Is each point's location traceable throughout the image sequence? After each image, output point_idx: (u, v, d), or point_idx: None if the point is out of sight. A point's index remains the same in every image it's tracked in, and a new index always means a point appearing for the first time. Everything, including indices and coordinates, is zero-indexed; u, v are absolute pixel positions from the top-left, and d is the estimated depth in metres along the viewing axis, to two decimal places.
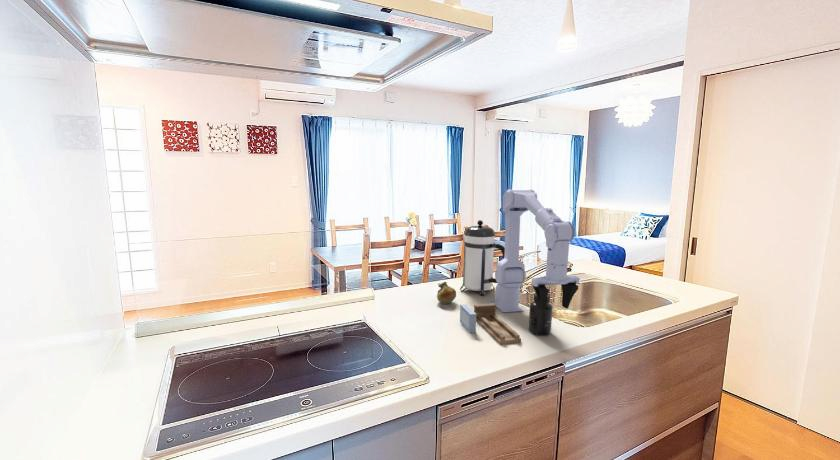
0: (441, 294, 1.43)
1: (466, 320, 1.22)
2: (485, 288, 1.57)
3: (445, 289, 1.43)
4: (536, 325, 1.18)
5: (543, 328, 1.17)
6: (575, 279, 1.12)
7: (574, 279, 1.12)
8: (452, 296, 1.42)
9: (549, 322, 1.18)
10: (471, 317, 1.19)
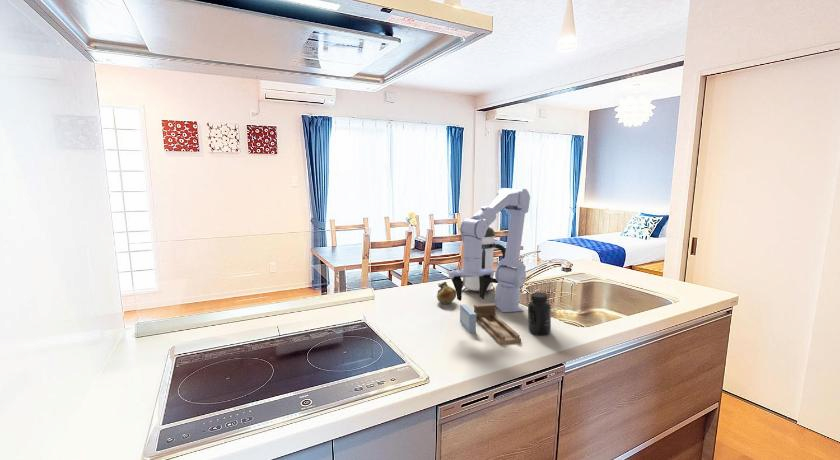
0: (441, 294, 1.43)
1: (466, 320, 1.22)
2: None
3: (445, 289, 1.43)
4: (536, 325, 1.18)
5: (543, 328, 1.17)
6: (489, 272, 1.21)
7: (488, 272, 1.21)
8: (452, 296, 1.42)
9: (548, 321, 1.18)
10: (471, 317, 1.19)
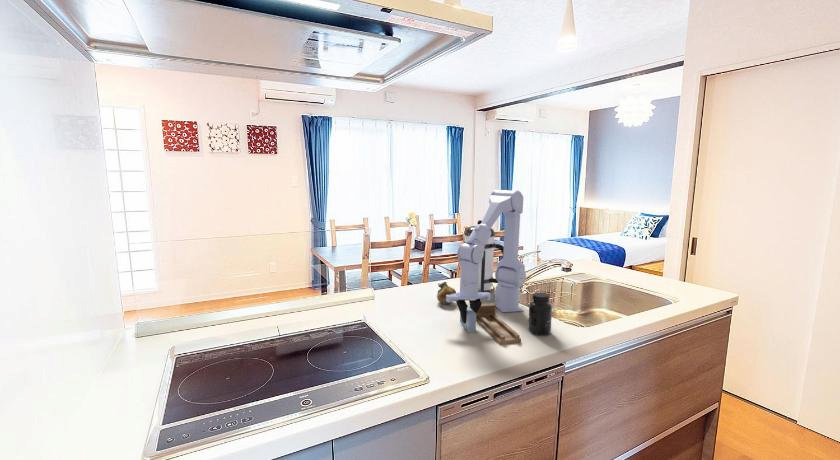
0: (441, 294, 1.43)
1: (466, 320, 1.22)
2: (485, 288, 1.57)
3: (445, 289, 1.43)
4: (537, 325, 1.18)
5: (544, 328, 1.17)
6: (486, 295, 1.23)
7: (485, 295, 1.23)
8: None
9: (549, 321, 1.18)
10: (471, 317, 1.19)
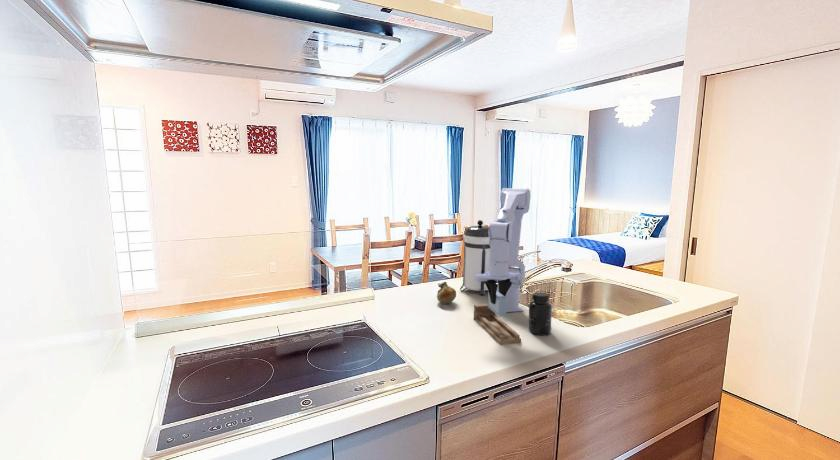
0: (441, 294, 1.43)
1: (496, 304, 1.19)
2: (485, 288, 1.57)
3: (445, 289, 1.43)
4: (538, 324, 1.18)
5: (544, 327, 1.18)
6: (516, 275, 1.20)
7: (515, 275, 1.20)
8: (452, 296, 1.42)
9: (549, 321, 1.18)
10: (501, 301, 1.16)
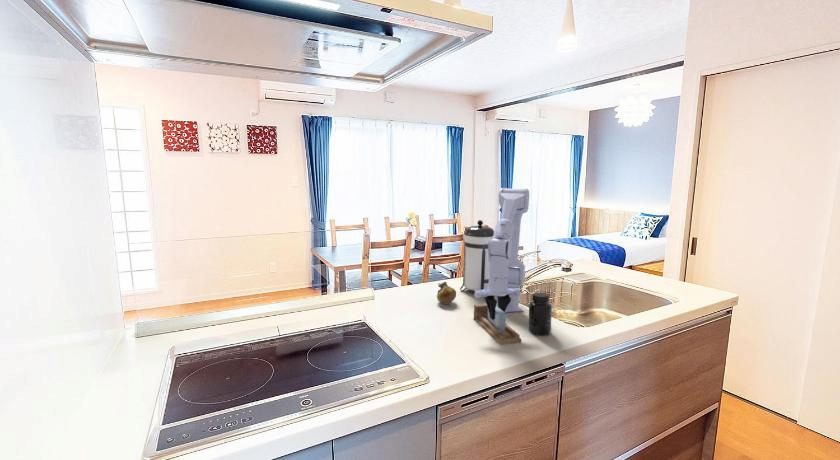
0: (441, 294, 1.43)
1: (495, 319, 1.20)
2: (485, 288, 1.57)
3: (445, 289, 1.43)
4: (538, 325, 1.18)
5: (545, 328, 1.17)
6: (515, 291, 1.21)
7: (514, 291, 1.20)
8: (452, 296, 1.42)
9: (550, 321, 1.18)
10: (501, 316, 1.17)
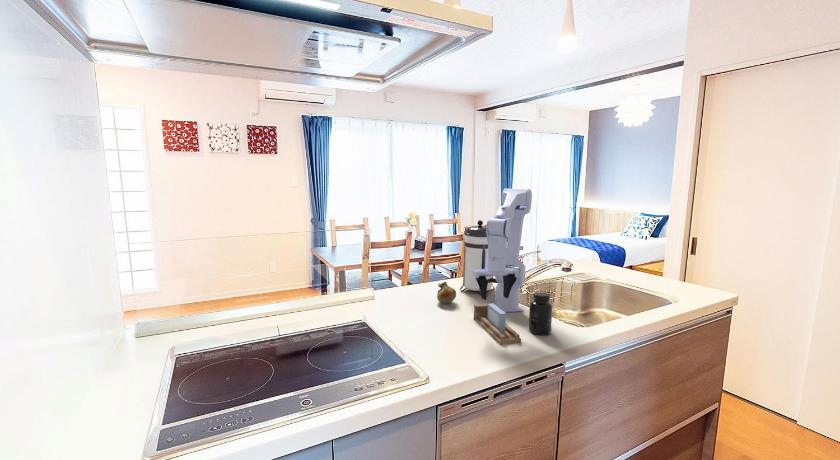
0: (441, 294, 1.43)
1: (495, 319, 1.20)
2: None
3: (445, 289, 1.43)
4: (539, 324, 1.18)
5: (546, 327, 1.18)
6: (514, 271, 1.21)
7: (513, 271, 1.21)
8: (452, 296, 1.42)
9: (550, 321, 1.18)
10: (501, 316, 1.17)
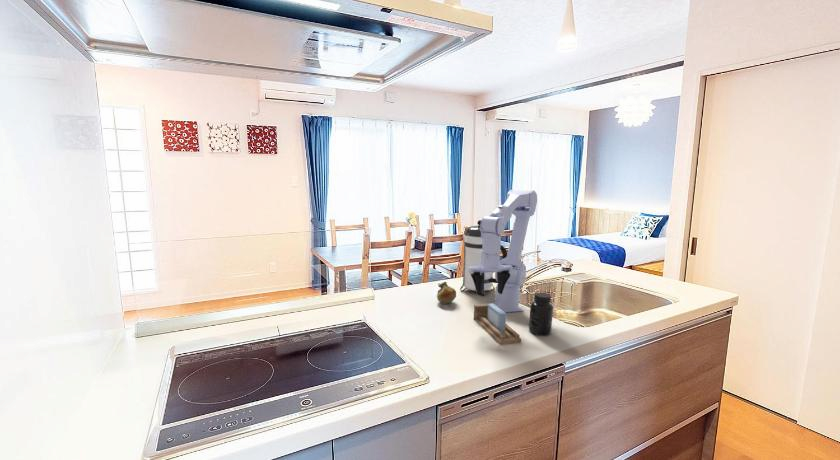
0: (441, 294, 1.43)
1: (495, 319, 1.20)
2: (485, 288, 1.57)
3: (445, 289, 1.43)
4: (540, 325, 1.17)
5: (546, 328, 1.17)
6: (508, 267, 1.25)
7: (507, 267, 1.25)
8: (452, 296, 1.42)
9: (551, 321, 1.18)
10: (501, 316, 1.17)
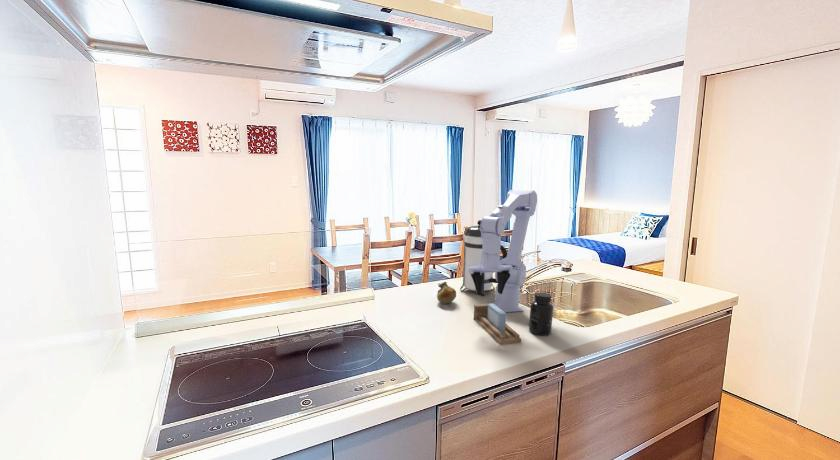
0: (441, 294, 1.43)
1: (495, 319, 1.20)
2: (485, 288, 1.57)
3: (445, 289, 1.43)
4: (540, 325, 1.17)
5: (546, 328, 1.18)
6: (508, 267, 1.25)
7: (507, 267, 1.25)
8: (452, 296, 1.42)
9: (551, 321, 1.18)
10: (501, 316, 1.17)
